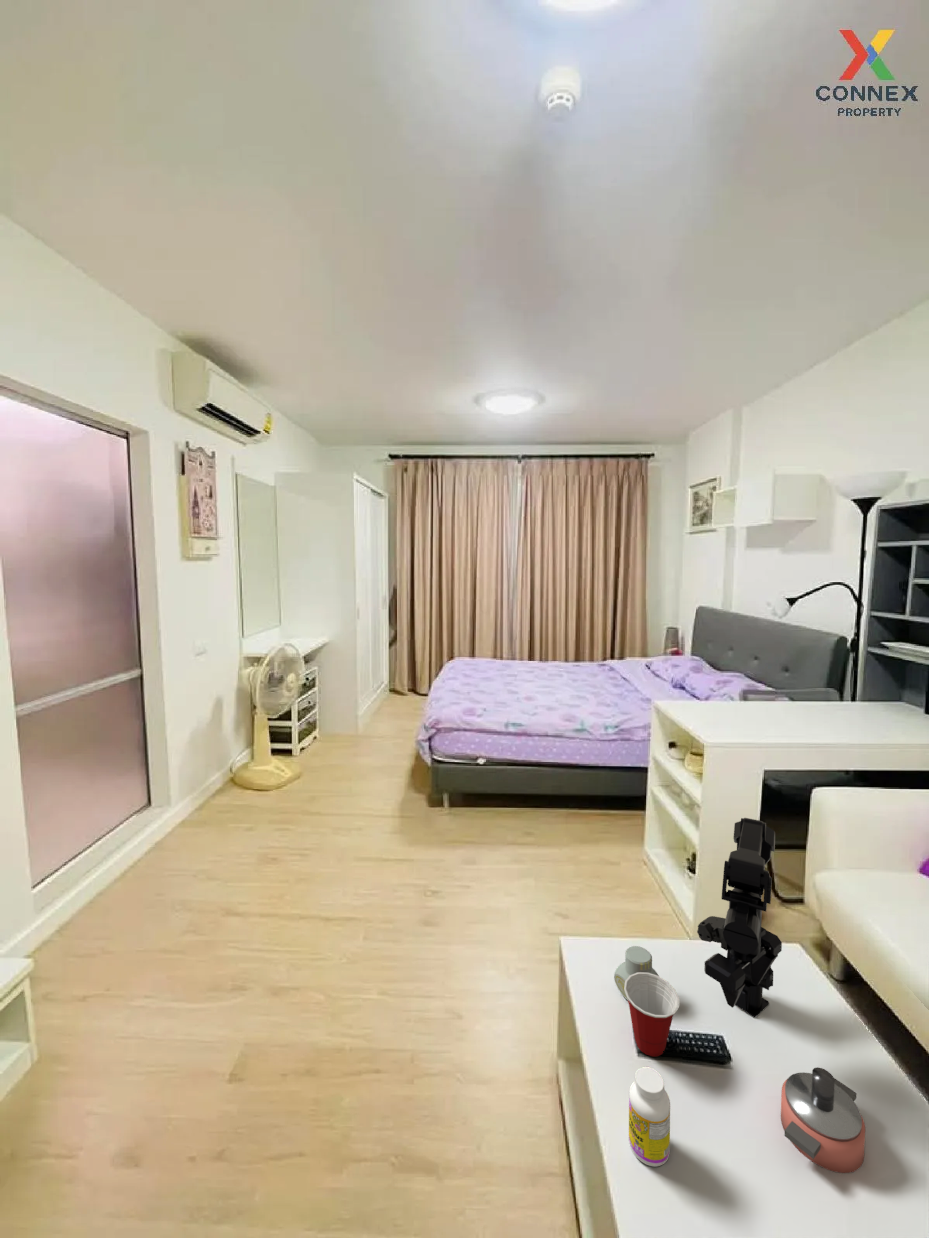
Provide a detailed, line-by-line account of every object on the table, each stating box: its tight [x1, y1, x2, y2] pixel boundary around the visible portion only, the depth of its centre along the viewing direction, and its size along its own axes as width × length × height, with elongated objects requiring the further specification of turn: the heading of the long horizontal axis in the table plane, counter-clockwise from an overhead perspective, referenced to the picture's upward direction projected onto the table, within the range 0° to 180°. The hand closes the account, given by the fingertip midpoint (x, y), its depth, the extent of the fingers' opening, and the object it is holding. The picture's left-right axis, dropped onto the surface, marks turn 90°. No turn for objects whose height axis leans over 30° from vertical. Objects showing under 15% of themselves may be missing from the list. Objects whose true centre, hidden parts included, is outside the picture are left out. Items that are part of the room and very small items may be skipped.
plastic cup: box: [624, 972, 680, 1057], centre depth 110 cm, size 11×11×12 cm
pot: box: [780, 1077, 866, 1174], centre depth 92 cm, size 17×12×5 cm
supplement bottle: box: [628, 1066, 671, 1168], centre depth 90 cm, size 7×7×13 cm
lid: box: [785, 1066, 862, 1142], centre depth 92 cm, size 11×11×6 cm
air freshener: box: [613, 945, 660, 1001], centre depth 123 cm, size 11×8×10 cm
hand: (743, 994), depth 106 cm, fingers open, 9 cm apart
